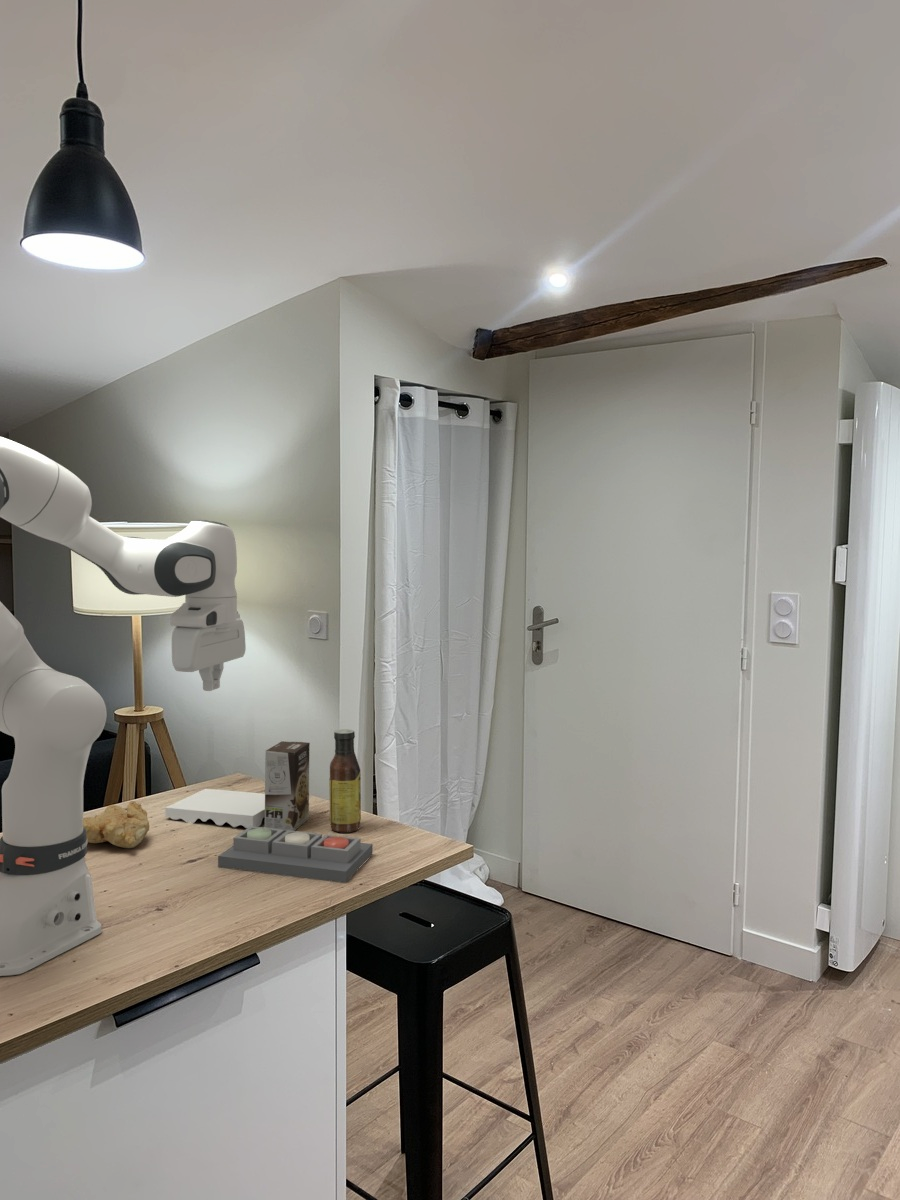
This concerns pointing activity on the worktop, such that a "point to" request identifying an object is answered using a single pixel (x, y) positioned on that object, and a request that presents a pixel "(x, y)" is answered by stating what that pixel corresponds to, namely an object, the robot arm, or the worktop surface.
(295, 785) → the coffee box
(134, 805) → the ginger root
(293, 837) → the cream button
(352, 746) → the sauce bottle
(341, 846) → the red button
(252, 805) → the white scalloped slab
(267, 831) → the green button
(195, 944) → the worktop surface
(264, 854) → the button panel
